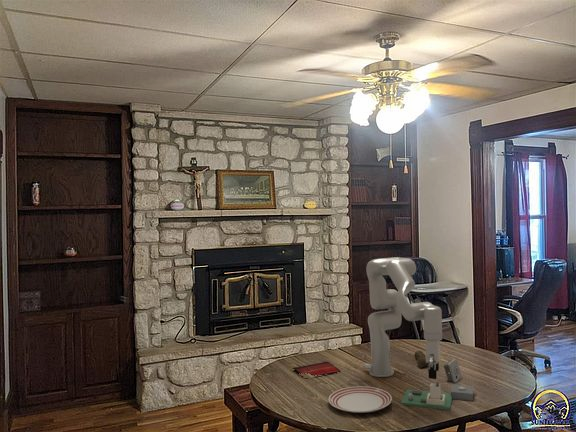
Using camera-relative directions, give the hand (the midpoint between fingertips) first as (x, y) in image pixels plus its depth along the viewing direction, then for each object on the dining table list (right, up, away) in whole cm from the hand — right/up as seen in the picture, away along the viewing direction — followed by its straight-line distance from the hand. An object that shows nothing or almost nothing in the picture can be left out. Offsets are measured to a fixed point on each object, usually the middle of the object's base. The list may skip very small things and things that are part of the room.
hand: (433, 374), depth 211 cm
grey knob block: (+15, -12, +7) cm, 20 cm away
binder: (-47, -15, +48) cm, 69 cm away
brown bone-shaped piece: (+11, -12, +51) cm, 53 cm away
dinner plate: (-31, -14, +3) cm, 34 cm away
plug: (+1, -11, 0) cm, 11 cm away
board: (-2, -13, +4) cm, 13 cm away
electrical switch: (+18, -12, +27) cm, 34 cm away
